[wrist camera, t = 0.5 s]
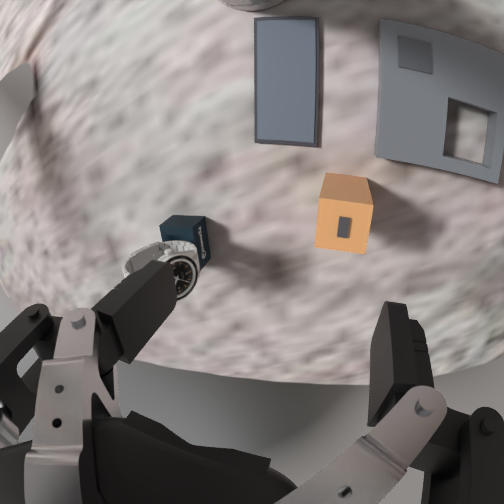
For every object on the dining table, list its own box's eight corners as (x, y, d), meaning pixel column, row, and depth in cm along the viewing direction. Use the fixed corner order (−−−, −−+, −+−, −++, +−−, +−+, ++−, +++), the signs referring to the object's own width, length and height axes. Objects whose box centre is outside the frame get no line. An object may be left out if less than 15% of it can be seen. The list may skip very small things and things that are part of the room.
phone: (257, 141, 28) (254, 142, 27) (257, 20, 22) (253, 17, 21) (317, 145, 27) (316, 147, 26) (319, 19, 20) (318, 16, 20)
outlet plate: (378, 23, 19) (380, 17, 17) (499, 57, 15) (508, 55, 13) (374, 153, 25) (376, 157, 23) (489, 178, 22) (498, 184, 20)
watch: (225, 259, 36) (183, 318, 27) (169, 253, 38) (119, 303, 29) (220, 216, 33) (170, 266, 24) (161, 214, 35) (103, 257, 26)
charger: (325, 172, 27) (318, 198, 21) (366, 177, 26) (373, 206, 20) (322, 210, 29) (314, 248, 22) (361, 216, 28) (365, 255, 21)
